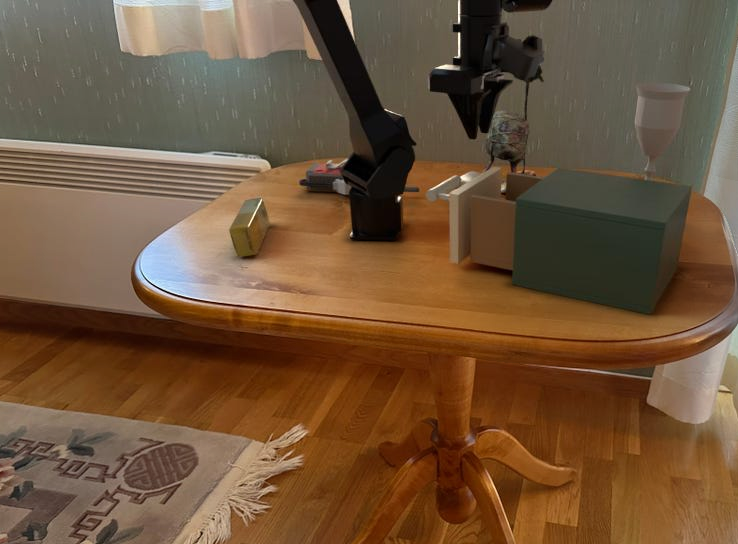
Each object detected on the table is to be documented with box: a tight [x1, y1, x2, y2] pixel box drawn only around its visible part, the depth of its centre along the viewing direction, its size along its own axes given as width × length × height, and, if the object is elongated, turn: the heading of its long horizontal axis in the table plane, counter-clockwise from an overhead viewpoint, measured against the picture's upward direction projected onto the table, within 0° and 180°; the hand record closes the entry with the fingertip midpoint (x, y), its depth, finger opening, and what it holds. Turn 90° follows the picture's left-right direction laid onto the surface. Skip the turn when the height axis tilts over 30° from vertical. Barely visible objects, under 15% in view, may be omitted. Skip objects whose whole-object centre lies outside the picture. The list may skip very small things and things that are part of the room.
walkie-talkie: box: [298, 158, 420, 196], centre depth 110 cm, size 9×4×20 cm
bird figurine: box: [482, 63, 544, 194], centre depth 107 cm, size 8×11×20 cm
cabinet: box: [511, 167, 693, 316], centre depth 80 cm, size 17×14×11 cm
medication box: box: [228, 197, 271, 258], centre depth 91 cm, size 12×3×4 cm, turn 6°
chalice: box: [634, 82, 691, 181], centre depth 97 cm, size 7×7×18 cm
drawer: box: [425, 166, 546, 272], centre depth 84 cm, size 20×12×9 cm, turn 63°
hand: (478, 136), depth 97 cm, fingers open, 4 cm apart
